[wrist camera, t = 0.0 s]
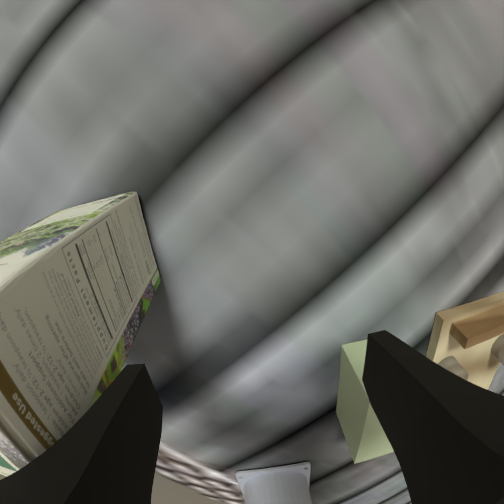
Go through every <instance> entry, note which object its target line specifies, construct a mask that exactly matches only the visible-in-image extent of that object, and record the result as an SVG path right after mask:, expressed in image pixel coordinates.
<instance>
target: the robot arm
mask: <svg viewBox="0 0 504 504" xmlns="http://www.w3.org/2000/svg"><path fill="white" fill-rule="evenodd" d="M362 381H363V384H364V387H365V390H366V393H367V396H368V398H369V401H370V404H371V406H372V408H373V410H374V412H375V414H376V416H377V418H378V420H379V422H380V424H381V426H382V428H383V430H384V432H385V434H386V436H387V438H388V440H389V442H390V444H391V446H392V448H393V450H394V452H395V454H396V456H397V459H398V461H399V464H400V466H401V469H402V472H403V475H404V478H405V481H406V484H407V487H408V491H409V494H410V498H411V502H412V504H504V396H502V395H499V394H497V393H494V392H491V391H489V390H487V389H484V388H482V387H480V386H478V385H475V384H473V383H471V382H469V381H467V380H465V379H463V378H461V377H459V376H457V375H456V374H454V373H452V372H450V371H448V370H447V369H445V368H443V367H442V366H440V365H438V364H437V363H435V362H433V361H432V360H430V359H429V358H427V357H425V356H424V355H422V354H421V353H419V352H418V351H416V350H415V349H413V348H412V347H410V346H409V345H407V344H406V343H404V342H403V341H401V340H400V339H398V338H397V337H395V336H394V335H392V334H391V333H389V332H387V331H386V330H383V331H379V332H375V333H370V334H368V339H367V347H366V355H365V363H364V370H363V377H362ZM162 412H163V406H162V404H161V402H160V400H159V397H158V395H157V393H156V391H155V388H154V386H153V384H152V381H151V379H150V376H149V374H148V372H147V369H146V367H145V364H135V365H127V366H126V367H125V368H124V369H123V370H122V371H121V372H120V373H119V374H118V376H117V377H116V378H115V379H114V380H113V382H112V383H111V384H110V385H109V386H108V388H107V389H106V390H105V391H104V392H103V393H102V395H101V396H100V397H99V398H98V399H97V400H96V401H95V403H94V404H93V405H92V406H91V407H90V408H89V410H88V411H87V412H86V413H85V414H84V415H83V416H82V417H81V418H80V419H79V420H78V421H77V422H76V423H75V424H74V425H73V426H72V427H71V428H70V430H68V431H67V432H66V433H65V434H64V435H63V436H62V437H61V438H60V439H59V440H58V441H57V442H55V443H54V444H53V445H52V446H51V447H50V448H48V449H47V450H46V451H45V452H44V453H42V454H41V455H39V456H38V457H37V458H35V459H34V460H32V461H31V462H30V463H28V464H27V465H25V466H24V467H23V468H21V469H19V470H18V471H16V472H14V473H13V474H11V475H9V476H7V477H6V478H4V479H2V480H0V504H151V493H152V485H153V479H154V473H155V468H156V462H157V456H158V450H159V445H160V439H161V432H162ZM310 469H311V465H310V463H309V462H303V463H298V464H292V465H286V466H279V467H272V468H265V469H256V470H247V471H238V472H236V478H237V481H238V483H239V486H240V489H241V491H242V494H243V496H244V499H245V504H312V501H311V497H310V492H309V484H310Z"/></svg>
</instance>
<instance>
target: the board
mask: <svg viewBox="0 0 504 504" xmlns="http://www.w3.org/2000/svg"><path fill="white" fill-rule="evenodd" d="M426 357H427V358H429V359H430V360H432V361H433V362H435V363H437V364H438V365H440V366H442V367H443V368H445V369H447V370H448V371H450V372H452V373H454V374H456V375H457V376H459V377H461V378H463V379H465V380H467V381H469V382H471V383H473V384H475V385H478V386H480V387H482V388H484V389H487V390H488V388H489V385H490V383H491V381H492V379H493V377H494V375H495V372H496V370H497V368H498V365H499V363H500V362H501V363H502V364H503V365H504V291H503V292H500V293H498V294H495V295H492V296H489V297H486V298H483V299H480V300H476V301H473V302H470V303H467V304H464V305H460V306H457V307H454V308H450V309H447V310H443V311H440V312H436V315H435V320H434V324H433V329H432V333H431V337H430V342H429V346H428V350H427V353H426Z"/></svg>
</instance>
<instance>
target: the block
mask: <svg viewBox="0 0 504 504" xmlns="http://www.w3.org/2000/svg"><path fill="white" fill-rule="evenodd" d="M366 347H367V340H363V341H359V342H354V343H349V344H345V345H342V347H341V362H340V374H339V386H338V396H337V406H336V414H337V417H338V419H339V422H340V425H341V428H342V430H343V433H344V436H345V439H346V441H347V444H348V447H349V450H350V453H351V456H352V458H353V461H354V464H355V463H359V462H362V461H366V460H369V459H373V458H376V457H379V456H382V455H385V454H388V453H391V452H394V450H393V448H392V446H391V444H390V442H389V440H388V438H387V436H386V434H385V432H384V430H383V428H382V426H381V424H380V422H379V420H378V418H377V416H376V414H375V412H374V410H373V408H372V406H371V404H370V401H369V398H368V396H367V393H366V390H365V387H364V384H363V381H362V377H363V370H364V363H365V355H366Z"/></svg>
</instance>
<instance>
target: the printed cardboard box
mask: <svg viewBox="0 0 504 504" xmlns="http://www.w3.org/2000/svg"><path fill="white" fill-rule="evenodd" d="M160 282H161V279H160V276H159V272H158V269H157V266H156V262H155V259H154V255H153V252H152V248H151V244H150V241H149V237H148V234H147V230H146V226H145V222H144V219H143V215H142V211H141V206H140V202H139V198H138V194H137V192H136V191H133V192H128V193H124V194H120V195H117V196H113V197H109V198H105V199H101V200H98V201H94V202H90V203H86V204H83V205H79V206H75V207H72V208H68V209H65V210H61V211H58V212H56V213H54V214H52V215H50V216H48V217H46V218H44V219H42V220H40V221H38V222H36V223H34V224H32V225H30V226H29V227H27V228H25V229H23V230H21V231H20V232H18V233H16V234H15V235H13V236H11V237H9V238H7V239H6V240H4V241H2V242H0V474H1V475H4V476H9V475H11V474H13V473H14V472H16V471H18V470H19V469H21V468H23V467H24V466H25V465H27V464H28V463H30V462H31V461H32V460H34V459H35V458H37V457H38V456H39V455H41V454H42V453H44V452H45V451H46V450H47V449H48V448H50V447H51V446H52V445H53V444H54V443H55V442H57V441H58V440H59V439H60V438H61V437H62V436H63V435H64V434H65V433H66V432H67V431H68V430H70V428H71V427H72V426H73V425H74V424H75V423H76V422H77V421H78V420H79V419H80V418H81V417H82V416H83V415H84V414H85V413H86V412H87V411H88V410H89V408H90V407H91V406H92V405H93V404H94V403H95V401H96V400H97V399H98V398H99V397H100V396H101V395H102V393H103V392H104V391H105V390H106V389H107V388H108V386H109V385H110V384H111V383H112V382H113V380H114V379H115V378H116V377H117V376H118V374H119V373H120V372H121V369H122V367H123V364H124V362H125V360H126V357H127V355H128V353H129V350H130V348H131V345H132V343H133V341H134V338H135V336H136V334H137V331H138V329H139V327H140V324H141V322H142V320H143V318H144V316H145V314H146V312H147V310H148V307H149V305H150V303H151V301H152V299H153V296H154V294H155V292H156V290H157V288H158V286H159V284H160Z"/></svg>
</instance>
